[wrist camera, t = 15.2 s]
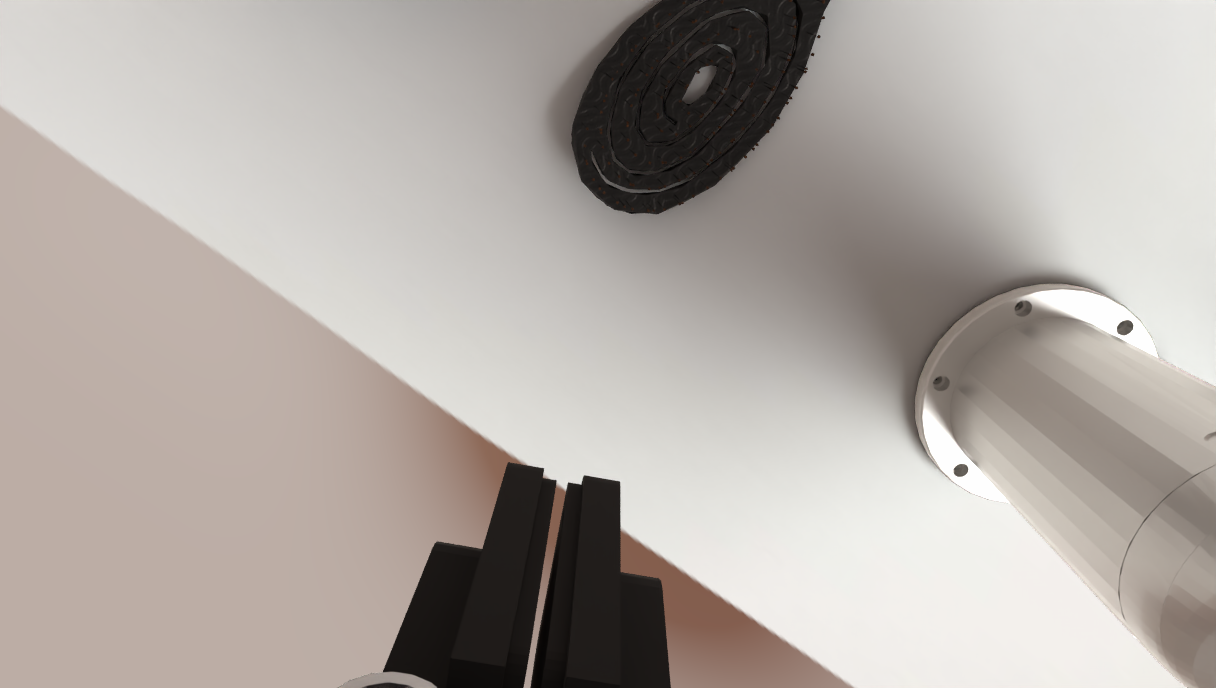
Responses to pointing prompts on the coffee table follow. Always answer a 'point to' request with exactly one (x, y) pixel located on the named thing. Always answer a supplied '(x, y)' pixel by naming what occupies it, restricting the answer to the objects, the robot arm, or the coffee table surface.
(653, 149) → the hairbrush
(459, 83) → the coffee table surface
